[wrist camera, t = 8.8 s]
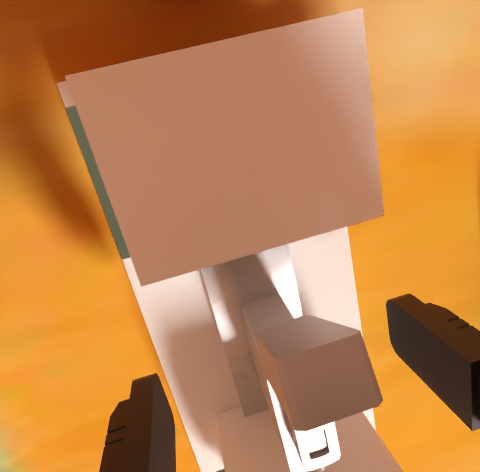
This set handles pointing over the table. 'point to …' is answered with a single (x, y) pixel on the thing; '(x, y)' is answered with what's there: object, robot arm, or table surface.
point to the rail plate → (208, 336)
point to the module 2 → (272, 455)
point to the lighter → (308, 379)
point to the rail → (243, 292)
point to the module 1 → (232, 144)
